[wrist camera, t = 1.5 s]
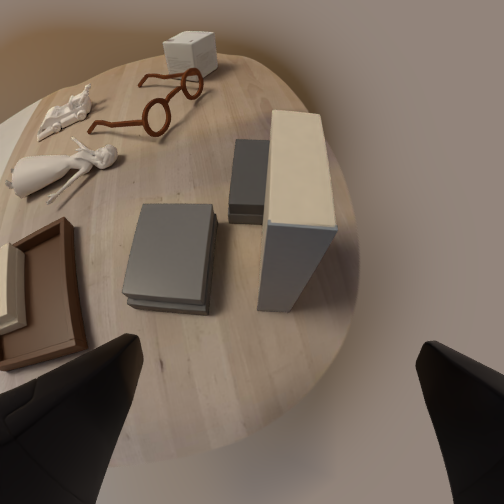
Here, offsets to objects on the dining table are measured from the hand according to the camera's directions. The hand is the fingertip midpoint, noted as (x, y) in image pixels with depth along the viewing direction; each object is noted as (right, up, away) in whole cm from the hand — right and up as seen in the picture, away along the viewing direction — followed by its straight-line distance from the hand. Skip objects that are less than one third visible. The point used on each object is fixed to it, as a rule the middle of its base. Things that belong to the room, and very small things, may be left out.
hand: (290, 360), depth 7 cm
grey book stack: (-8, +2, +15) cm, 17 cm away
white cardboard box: (-11, +33, +30) cm, 46 cm away
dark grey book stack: (0, +9, +19) cm, 21 cm away
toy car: (-32, +25, +26) cm, 49 cm away
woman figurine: (-26, +13, +21) cm, 35 cm away
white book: (+1, +2, +15) cm, 16 cm away
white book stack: (-27, -2, +13) cm, 30 cm away
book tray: (-24, -2, +13) cm, 27 cm away
